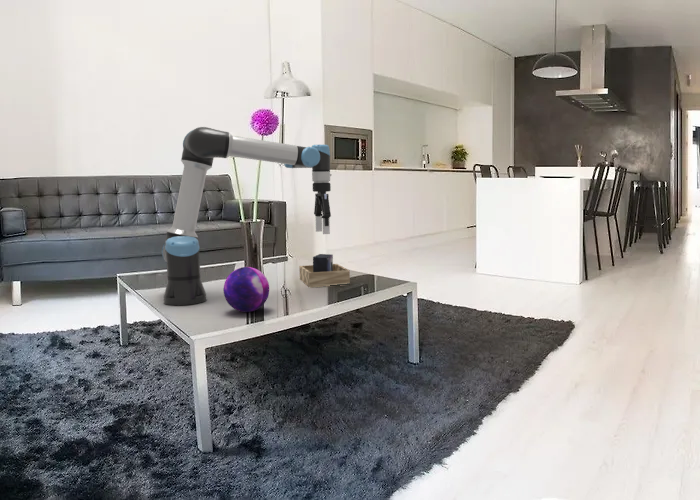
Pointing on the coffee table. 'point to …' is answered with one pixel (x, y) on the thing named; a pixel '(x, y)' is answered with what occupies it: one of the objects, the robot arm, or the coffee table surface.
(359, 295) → the coffee table surface
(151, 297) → the coffee table surface
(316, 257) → the small box
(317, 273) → the pine crate
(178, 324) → the coffee table surface
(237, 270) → the decorative orb
